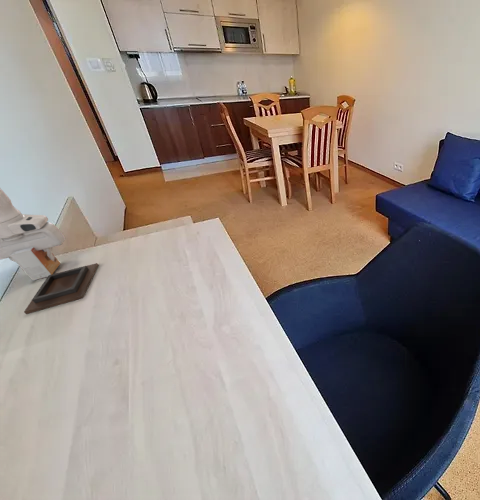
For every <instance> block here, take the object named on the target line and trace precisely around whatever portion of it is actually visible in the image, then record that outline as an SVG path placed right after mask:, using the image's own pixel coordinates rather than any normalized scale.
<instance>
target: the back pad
mask: <svg viewBox="0 0 480 500" xmlns="http://www.w3.org/2000/svg"><path fill="white" fill-rule="evenodd" d="M99 266H100V265H99V264H98V263H97V262H95V263H92V264H88V265H84V266H79V267H76V268H72V269H71V268H70V269H68V270H64V271H60V272H57V273H53V274H52V275H49V276H48V277H45V280H44V281H43V283H42V284H41V286H40V287H39V289H38V290H37V292H36V293H35V294H34V296H33V297H32V299H31V301H30V302H29V303H28V305H27V307H26V308H25V310H24V311H23V313H24V314H26V315H28V314H32V313H35V312H39V311H43V310H47V309H49V308H53V307H56V306H61V305H63V304H67V303H70V302H75V301H77V300H81V299H83V298H84V297H85V295H86V292H87V290H88V288H89V286H90V284H91V282H92V280H93V278H94V276H95V274H96V272H97V270H98V268H99Z"/></svg>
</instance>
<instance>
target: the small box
mask: <svg viewBox="0 0 480 500" xmlns="http://www.w3.org/2000/svg"><path fill="white" fill-rule="evenodd" d="M46 254H47V252H45V251H44V250H39V251H37V250H36V249H35V248H34V247H32V248H27V249H23V250H19V251H16V252H13V253H12V254H11V255H10V256H11V257H12V258H13V259H14V260H15V262H14V263H16V264H17V265H18V267H20V268H21V269H22V271H23V272H24V273H25V274H26V275H27V276H28V277H29V278H30V279H31V280H32V281H37V280H41V279H44V278H47V277H48V276H49V275H52V274H55V272H56V270H57V269H58V267H59V266H61V262H60V261H59V259H58V258H57V257H56V256H55V254H54V253H53V252H52V254H53V255H54V257H55V258H54V259H53V260H49V261H48V260H47V259H46V258H45V256H46Z"/></svg>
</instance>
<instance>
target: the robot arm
mask: <svg viewBox="0 0 480 500" xmlns="http://www.w3.org/2000/svg"><path fill="white" fill-rule="evenodd" d="M65 241H66V236H65V235H64V233H63V232H62V231H61V230H60V228H59V227H58V226H57V225H55V224H54V223H52V222H50V221H49V218H48V216H46V215H45V214H27V213H22V212H21V211H20V210H19V209H18V208H16V207H15V206H14V205H13V202H12V200H11V199H10V197H9V196H8V195H7V194H6V193H5V192H4V190H3V189H2V188H1V187H0V260H5V259H9V260H10V261H11V262H14V263H16V262H15V260H14V259H13V258H12V257H11V256H10V255H11V254H12V253H13V252H16V251H19V250H23V249H27V248H32V247H34V248H35V249H36V250H37V251H39V250H44V251H45V252H47V254H46V256H45V258H46V259H47V260H48V261H49V260H53V259H54V258H55V257H56V256H55V254H54V253H53V248H56V247H59V246H62V245H63V244H64V243H65ZM52 253H53V254H54V255H53V254H52ZM54 256H55V257H54Z"/></svg>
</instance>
